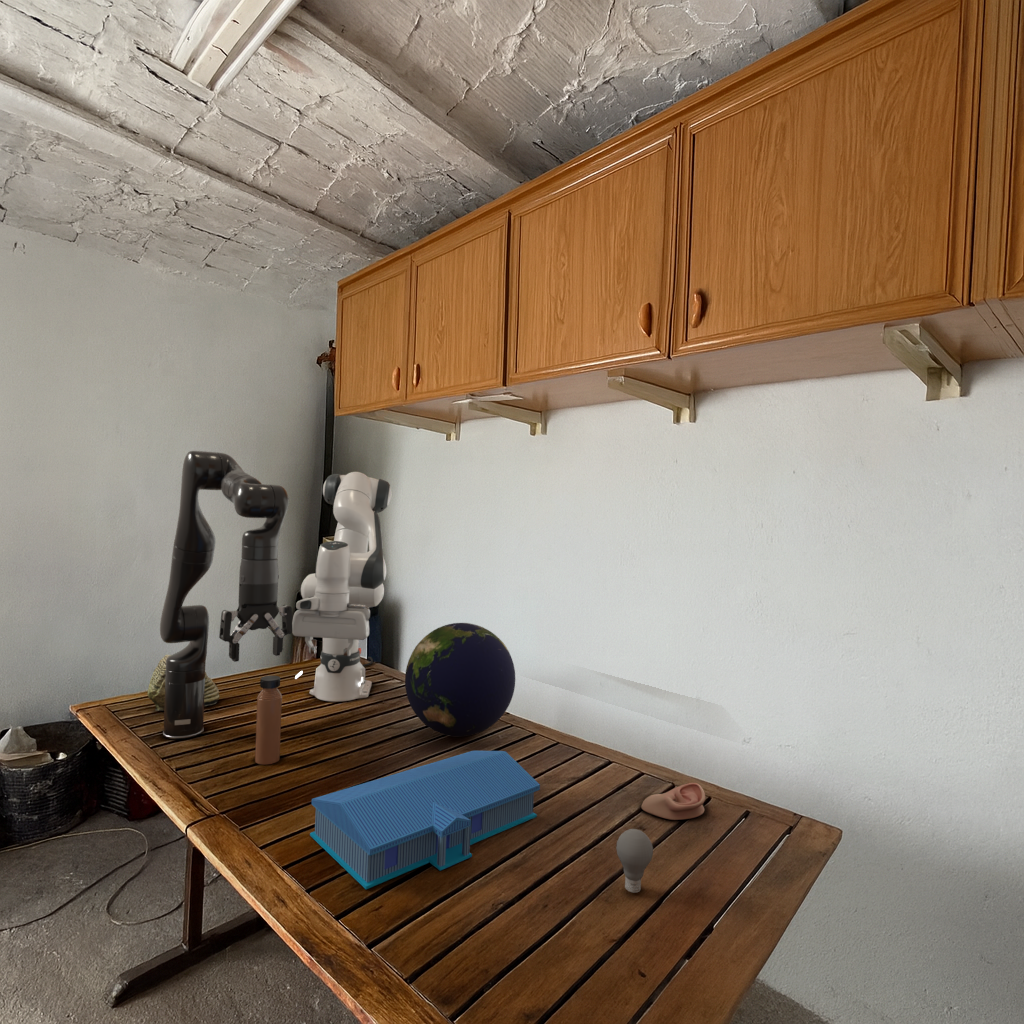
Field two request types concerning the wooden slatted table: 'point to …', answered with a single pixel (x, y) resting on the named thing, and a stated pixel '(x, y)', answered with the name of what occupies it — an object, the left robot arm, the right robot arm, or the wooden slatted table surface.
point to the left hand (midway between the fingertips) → (256, 657)
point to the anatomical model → (677, 802)
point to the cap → (270, 682)
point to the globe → (460, 679)
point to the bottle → (268, 726)
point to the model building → (423, 815)
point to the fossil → (158, 687)
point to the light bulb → (634, 857)
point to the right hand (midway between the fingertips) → (329, 654)
